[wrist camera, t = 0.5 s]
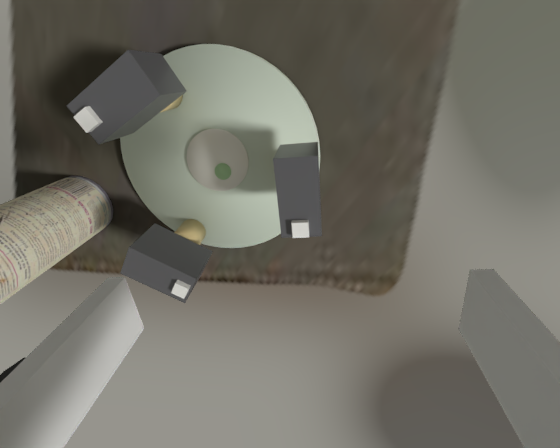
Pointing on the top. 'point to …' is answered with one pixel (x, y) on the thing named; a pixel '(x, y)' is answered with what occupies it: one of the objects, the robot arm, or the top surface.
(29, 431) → the robot arm
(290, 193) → the grey block on peg
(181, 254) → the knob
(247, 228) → the base
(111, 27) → the top surface
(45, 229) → the aerosol can
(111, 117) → the dark grey rectangular block
